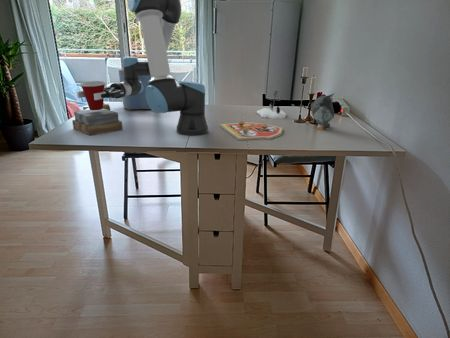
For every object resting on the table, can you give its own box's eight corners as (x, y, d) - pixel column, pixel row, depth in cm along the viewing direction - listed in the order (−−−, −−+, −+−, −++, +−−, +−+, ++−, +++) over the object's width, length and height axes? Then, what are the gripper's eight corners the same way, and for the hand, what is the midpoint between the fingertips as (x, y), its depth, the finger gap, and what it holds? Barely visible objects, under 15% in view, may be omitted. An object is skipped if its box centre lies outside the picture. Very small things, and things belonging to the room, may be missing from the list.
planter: (159, 110, 188) (158, 71, 179) (121, 111, 182) (117, 70, 173) (157, 104, 208) (155, 68, 199) (122, 104, 202) (119, 67, 193)
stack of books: (122, 129, 145) (121, 112, 142) (89, 135, 133) (87, 117, 130) (105, 123, 154) (103, 107, 151) (73, 128, 143) (70, 111, 140)
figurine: (254, 110, 197) (257, 84, 189) (282, 111, 198) (286, 86, 190) (259, 120, 179) (262, 92, 172) (289, 121, 180) (293, 94, 173)
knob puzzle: (217, 126, 159) (217, 118, 157) (267, 123, 169) (268, 115, 167) (239, 142, 134) (240, 132, 132) (296, 138, 144) (298, 129, 142)
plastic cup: (77, 109, 138) (73, 82, 134) (97, 106, 147) (93, 80, 142) (94, 112, 134) (90, 84, 129) (113, 108, 142) (110, 82, 138)
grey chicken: (300, 127, 162) (305, 93, 155) (316, 123, 171) (321, 91, 165) (324, 133, 152) (330, 96, 145) (339, 129, 162) (346, 94, 155)
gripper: (138, 99, 151) (106, 106, 132) (103, 95, 158) (68, 102, 139) (137, 84, 148) (104, 89, 129) (102, 80, 155) (66, 85, 136)
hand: (86, 95), depth 134 cm, fingers closed on plastic cup, 9 cm apart
